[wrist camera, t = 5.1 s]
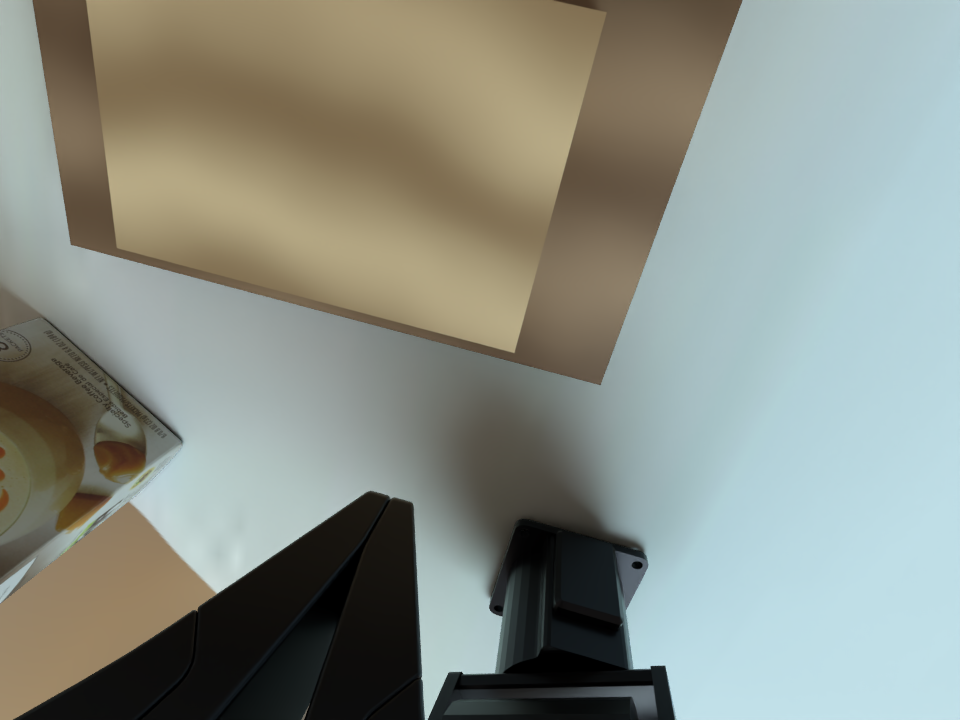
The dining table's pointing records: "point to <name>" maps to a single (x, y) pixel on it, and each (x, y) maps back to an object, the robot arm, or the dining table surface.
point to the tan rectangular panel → (347, 146)
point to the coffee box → (64, 449)
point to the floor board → (581, 196)
